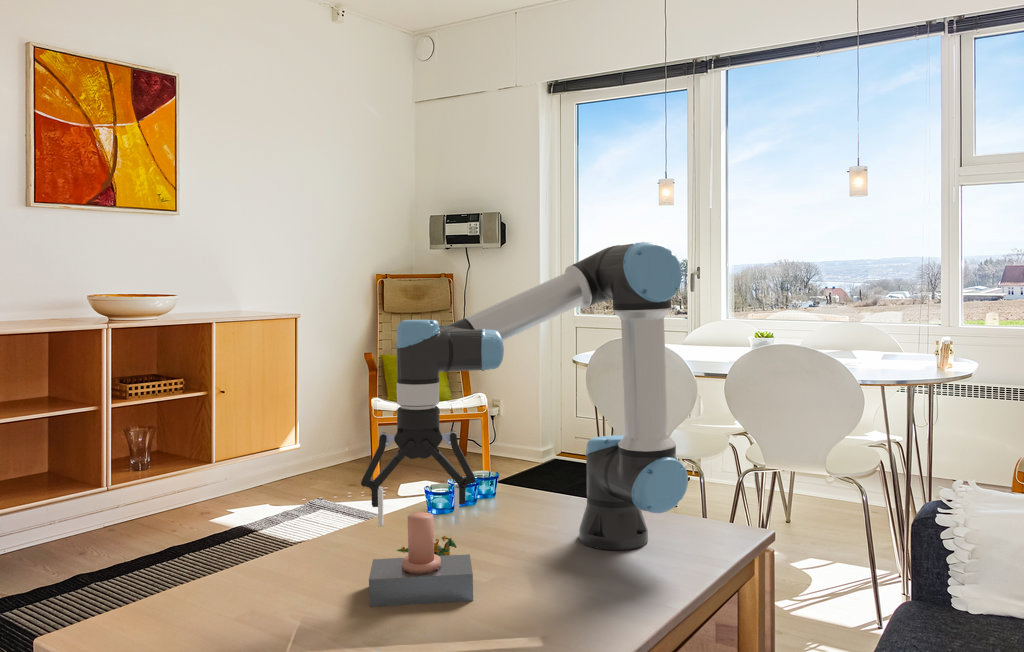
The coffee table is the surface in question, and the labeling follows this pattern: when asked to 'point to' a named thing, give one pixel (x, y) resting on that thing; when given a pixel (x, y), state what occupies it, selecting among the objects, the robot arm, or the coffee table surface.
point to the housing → (420, 582)
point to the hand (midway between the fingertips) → (419, 523)
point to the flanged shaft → (421, 545)
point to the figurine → (438, 547)
